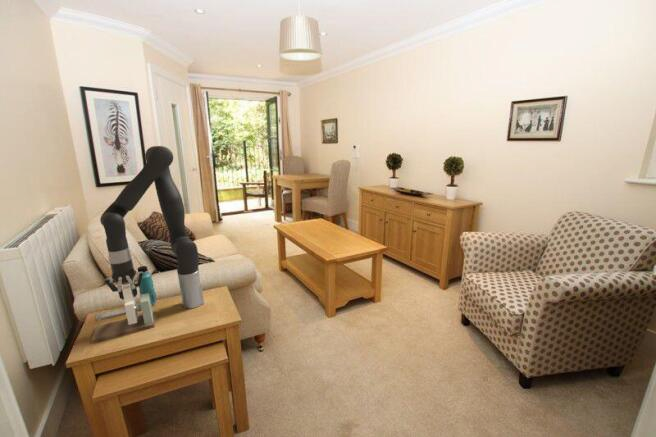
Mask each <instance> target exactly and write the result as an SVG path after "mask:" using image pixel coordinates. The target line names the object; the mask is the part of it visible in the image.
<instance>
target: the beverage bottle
mask: <svg viewBox="0 0 656 437" xmlns="http://www.w3.org/2000/svg"><path fill="white" fill-rule="evenodd" d="M141 271H143V276H142V280H141V284H140V286H139V287H138V291H139V297H140V299H141V294H146V293H149V295H150V300H151V305H153V304H155V303H156V302H157V295H156V291H155V284H154V281H153V277H152V276H153V275H152V273H150V272H148V271H149V269H148V266H146V265H143V266H142V265H141V266H139V267H137V272H141ZM138 278H139V277H137V276H136V281H137V282H136V283H138Z"/></svg>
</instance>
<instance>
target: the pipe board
mask: <svg viewBox="0 0 656 437" xmlns="http://www.w3.org/2000/svg"><path fill="white" fill-rule="evenodd" d="M155 325H156V312H155V311H153V323H149V324H145V323H144V318H143V314H140V315H138V320H137V323H134V324H130V325H129V324H128V319H127V318H124V319H121V320H116V321H113V322H108V323H104V324H99V325H96V327H95V329H94V332H93V335H92V338H91V343H92V344H96V343H99V342H103V341H107V340H111V339H114V338H115V339H116V338H119V337H122V336H125V335H130V334H134V333H137V332H138V333H139V332H140V331H144V330H145V331H146V330H149V329H152V328H155V327H156V326H155Z"/></svg>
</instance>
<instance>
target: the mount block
mask: <svg viewBox="0 0 656 437" xmlns="http://www.w3.org/2000/svg"><path fill="white" fill-rule="evenodd" d="M140 297H141V298H140V301H139V305H140V304H141V309H142V310H141V312H142V315H143V318H144V323H145V324H149V323H153V312H154V311H153V306H152V305H153V304H151V300H150V295H149V293H146V294H141V296H140Z"/></svg>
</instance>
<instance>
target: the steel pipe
mask: <svg viewBox="0 0 656 437" xmlns="http://www.w3.org/2000/svg"><path fill="white" fill-rule="evenodd" d="M135 310H136V311H138V312H139V311H142V309H141V304H140V303H139V304H137V305H136V306H135ZM122 315H126V310H125V307H124V308H120V309H113V310H111V311H106V312H102V313H98V314H95V320H96V321H100V320H105V319H108V318H110V319H111V318H114V317H118V316H122Z"/></svg>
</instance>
